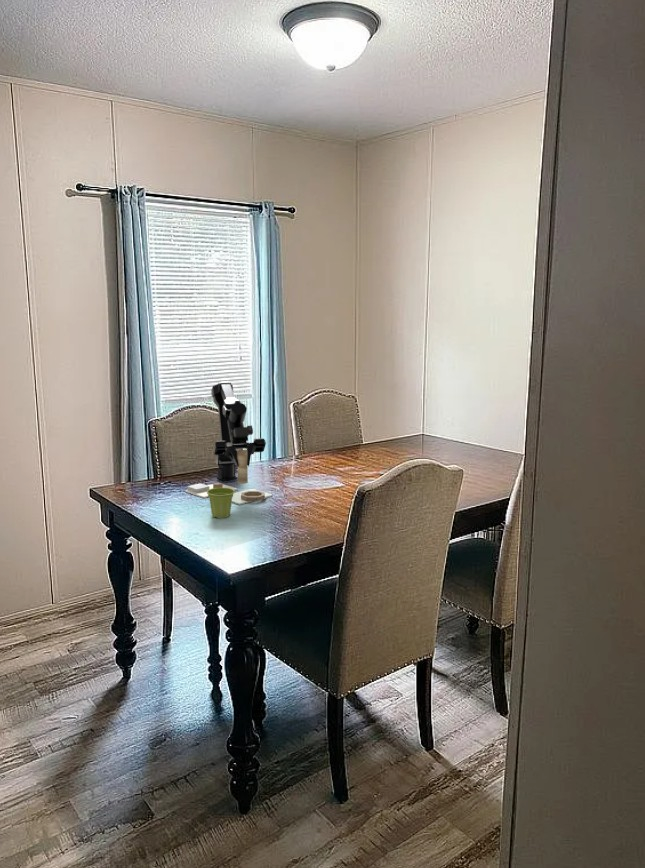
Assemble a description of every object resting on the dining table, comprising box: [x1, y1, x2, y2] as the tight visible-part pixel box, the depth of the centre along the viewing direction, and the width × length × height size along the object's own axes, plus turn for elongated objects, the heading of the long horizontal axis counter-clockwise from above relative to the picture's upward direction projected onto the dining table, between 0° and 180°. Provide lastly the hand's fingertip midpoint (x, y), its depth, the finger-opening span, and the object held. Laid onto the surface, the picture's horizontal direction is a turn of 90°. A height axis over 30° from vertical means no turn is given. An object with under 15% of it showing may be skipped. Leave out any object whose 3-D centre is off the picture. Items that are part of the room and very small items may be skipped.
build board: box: [231, 488, 273, 506], centre depth 251 cm, size 16×14×2 cm
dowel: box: [236, 449, 249, 485], centre depth 246 cm, size 4×4×12 cm
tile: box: [185, 482, 239, 499], centre depth 260 cm, size 16×12×4 cm
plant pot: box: [207, 488, 236, 519], centre depth 230 cm, size 9×9×9 cm
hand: (243, 465), depth 244 cm, fingers closed on dowel, 4 cm apart
